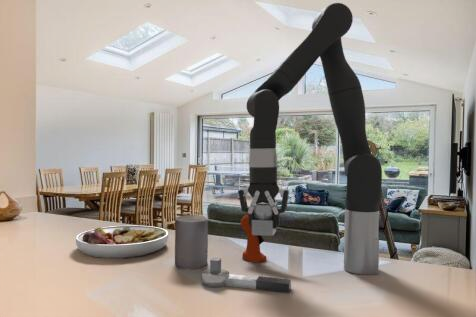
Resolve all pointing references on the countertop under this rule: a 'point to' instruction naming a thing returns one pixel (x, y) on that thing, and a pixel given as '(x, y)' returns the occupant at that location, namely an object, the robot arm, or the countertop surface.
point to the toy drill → (255, 241)
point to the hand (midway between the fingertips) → (264, 227)
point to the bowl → (121, 241)
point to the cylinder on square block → (263, 220)
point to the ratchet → (241, 279)
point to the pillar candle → (191, 241)
